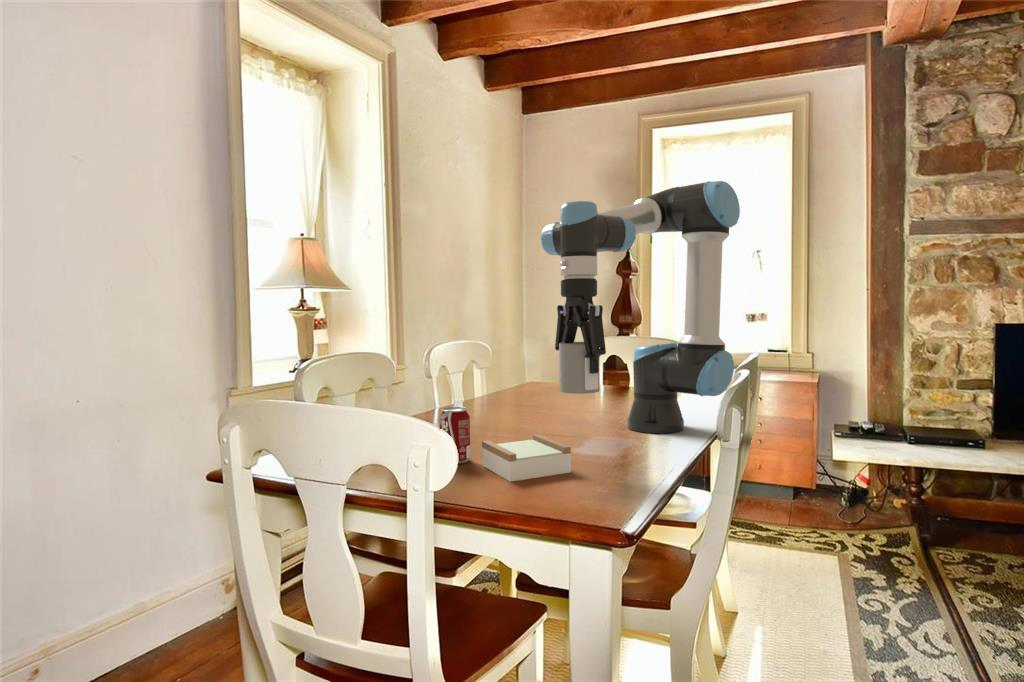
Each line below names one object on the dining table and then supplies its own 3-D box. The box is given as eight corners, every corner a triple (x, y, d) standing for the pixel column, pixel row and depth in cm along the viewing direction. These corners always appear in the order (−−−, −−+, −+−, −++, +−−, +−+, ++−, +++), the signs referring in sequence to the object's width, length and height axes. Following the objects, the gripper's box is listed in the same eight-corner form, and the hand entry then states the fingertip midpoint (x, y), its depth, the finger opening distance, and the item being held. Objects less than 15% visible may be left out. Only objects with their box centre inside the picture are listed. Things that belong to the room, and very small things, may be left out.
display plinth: (539, 457, 146) (538, 434, 146) (570, 472, 134) (570, 446, 133) (482, 465, 140) (481, 441, 140) (509, 481, 128) (509, 454, 127)
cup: (598, 393, 130) (598, 344, 129) (557, 393, 131) (557, 344, 131) (600, 388, 138) (599, 341, 137) (561, 387, 139) (561, 341, 139)
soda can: (475, 459, 146) (474, 406, 145) (463, 466, 140) (462, 412, 139) (448, 457, 148) (446, 405, 147) (435, 464, 142) (433, 410, 141)
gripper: (538, 279, 141) (539, 382, 142) (592, 275, 122) (592, 394, 123) (567, 279, 144) (568, 380, 146) (624, 276, 125) (624, 391, 127)
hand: (579, 386), depth 135 cm, fingers closed on cup, 8 cm apart
